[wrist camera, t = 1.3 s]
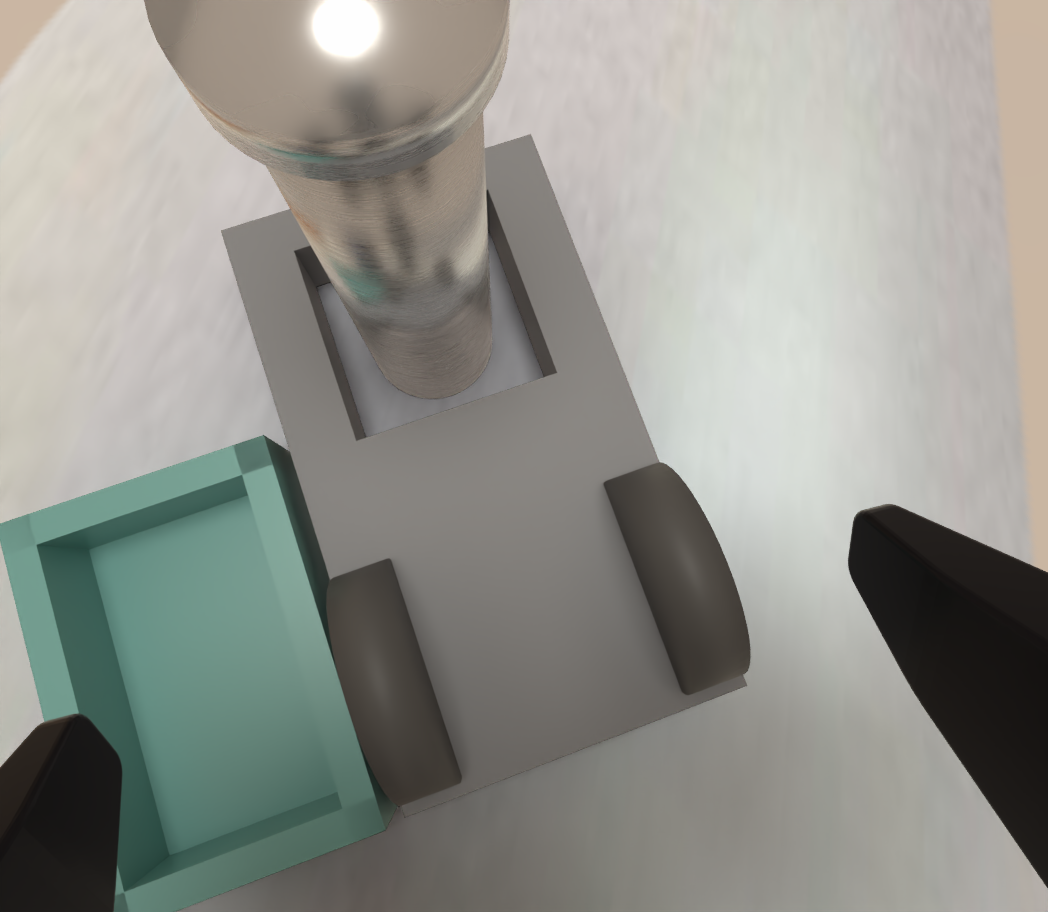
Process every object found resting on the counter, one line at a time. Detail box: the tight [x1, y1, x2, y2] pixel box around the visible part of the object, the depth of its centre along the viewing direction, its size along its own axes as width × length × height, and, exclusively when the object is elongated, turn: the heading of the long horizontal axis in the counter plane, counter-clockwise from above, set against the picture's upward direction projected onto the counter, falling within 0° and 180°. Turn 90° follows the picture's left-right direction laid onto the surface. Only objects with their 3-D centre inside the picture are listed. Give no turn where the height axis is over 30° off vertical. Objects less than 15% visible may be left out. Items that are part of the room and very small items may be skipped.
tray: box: [0, 435, 397, 912], centre depth 20 cm, size 10×7×3 cm
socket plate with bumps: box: [221, 134, 750, 817], centre depth 20 cm, size 16×9×6 cm, turn 20°
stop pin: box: [144, 0, 510, 399], centre depth 16 cm, size 4×4×14 cm
